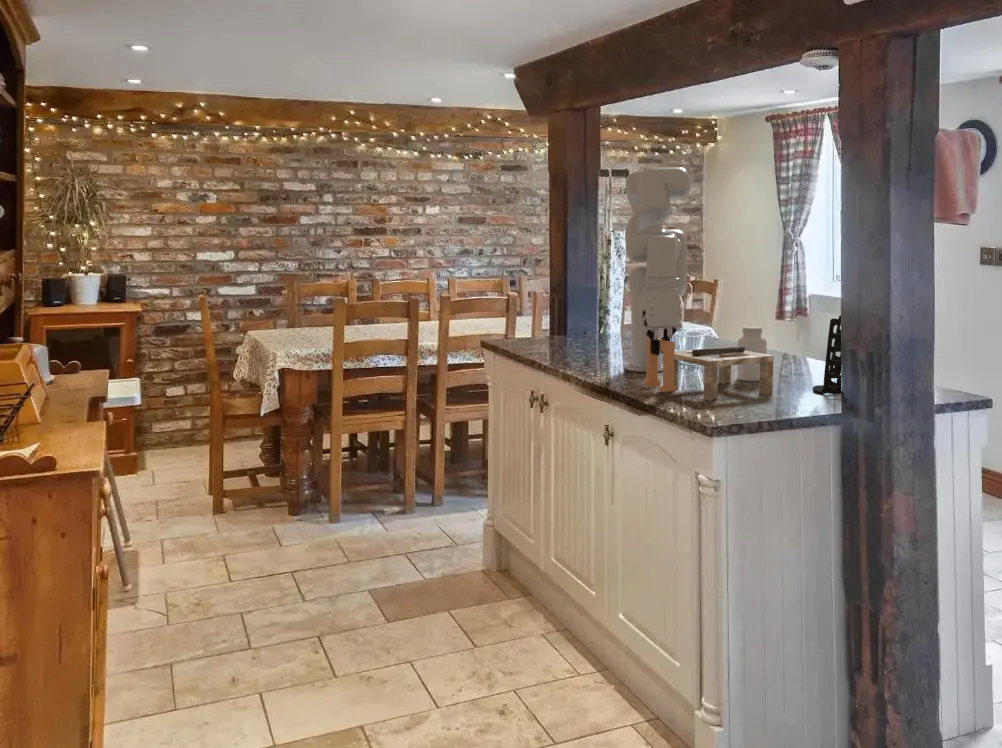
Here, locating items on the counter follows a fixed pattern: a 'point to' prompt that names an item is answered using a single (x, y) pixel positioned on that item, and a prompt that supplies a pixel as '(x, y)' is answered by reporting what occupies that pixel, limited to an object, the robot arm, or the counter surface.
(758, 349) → the pill bottle
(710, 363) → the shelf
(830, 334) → the holder
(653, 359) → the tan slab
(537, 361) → the counter surface
